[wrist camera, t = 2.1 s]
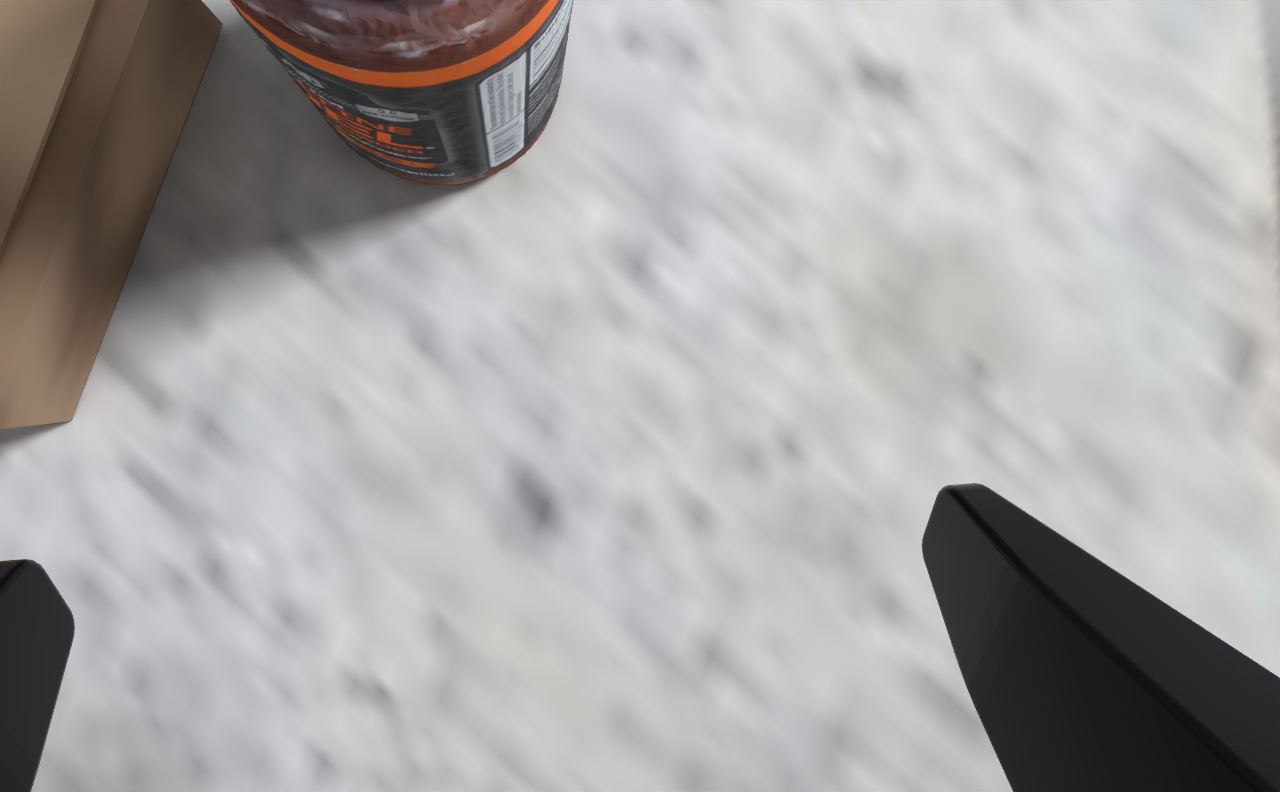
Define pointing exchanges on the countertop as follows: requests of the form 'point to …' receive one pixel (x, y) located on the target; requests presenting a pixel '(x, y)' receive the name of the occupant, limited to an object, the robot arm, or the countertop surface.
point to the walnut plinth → (81, 175)
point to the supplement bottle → (424, 76)
